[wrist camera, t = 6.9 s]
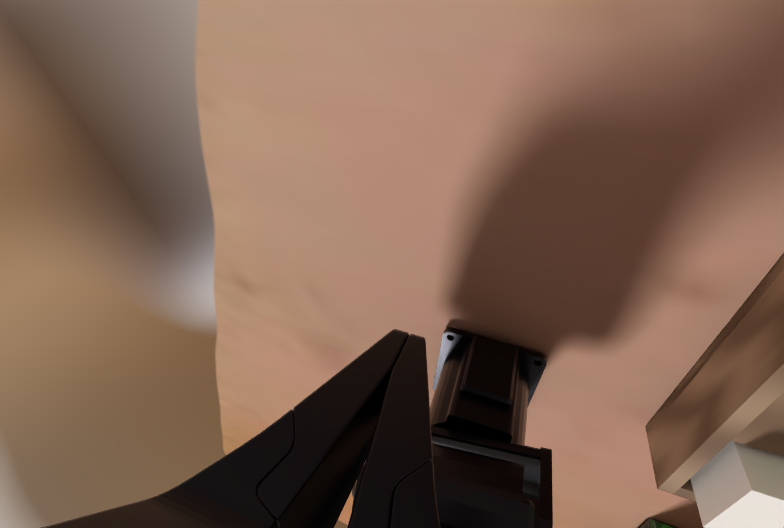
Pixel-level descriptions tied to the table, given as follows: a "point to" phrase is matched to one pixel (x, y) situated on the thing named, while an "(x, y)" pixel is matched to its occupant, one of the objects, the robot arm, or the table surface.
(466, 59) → the table surface
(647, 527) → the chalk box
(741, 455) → the white rectangular block
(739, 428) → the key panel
